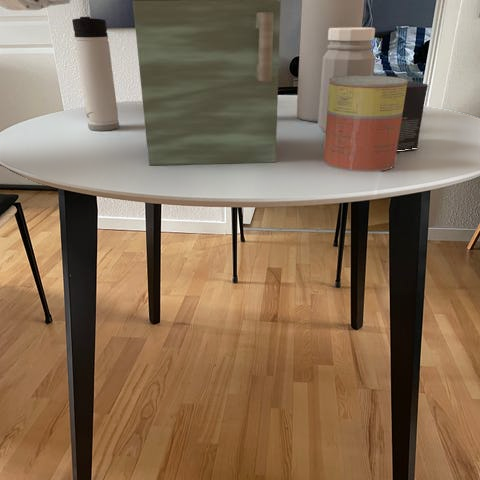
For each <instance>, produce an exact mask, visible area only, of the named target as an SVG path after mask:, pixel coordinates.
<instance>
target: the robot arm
mask: <svg viewBox="0 0 480 480" xmlns="http://www.w3.org/2000/svg"><path fill="white" fill-rule="evenodd" d="M70 3H71V0H0V7H1V8H4V9H5V10H10V11H40V10H42V9H46V8H48V7H52V6H58V5H67V4H70Z"/></svg>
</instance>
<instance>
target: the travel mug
mask: <svg viewBox="0 0 480 480" xmlns="http://www.w3.org/2000/svg"><path fill="white" fill-rule="evenodd" d="M71 23H72V28H73V32H74V41H75V50H76V55H77V56H76V57H77V60H78V69H79V74H80V82H81V88H82V94H83V100H84V107H85V113H86V121H87V126H88V129H89V130H90V131H94V130H95V132H106V131H107V132H108V131H113V130H115V131H116V130H117V129H119V128H120V121H119V113H118V105H117V98H116V89H115V82H114V73H113V66H112V58H111V50H110V49H111V48H110V41H109V36H108V28H107V27H108V26H107V20H106V19H102V18H91V16H79V18H73V19H72V21H71Z"/></svg>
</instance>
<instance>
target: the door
mask: <svg viewBox="0 0 480 480" xmlns="http://www.w3.org/2000/svg"><path fill="white" fill-rule="evenodd" d="M281 3H282V1H281V0H255V1H133V0H132V8H133V17H134V18H133V19H134V28H135V38H136V48H137V49H136V50H137V57H138V68H139V69H138V70H139V78H140V79H139V80H140V88H141V90H140V91H141V98H142V99H141V100H142V110H143V117H144V128H145V140H146V149H147V159H148V166H179V165H180V166H181V165H214V164H215V165H216V164H217V165H218V164H219V165H220V164H221V165H222V164H257V163H261V164H263V163H276V162H277V161H276V160H277V159H276V158H277V134H278V133H277V130H278V101H279V99H278V96H279V68H280V67H279V65H280V62H279V61H280V35H281V33H280V31H281V5H282V4H281Z"/></svg>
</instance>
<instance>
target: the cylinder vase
mask: <svg viewBox="0 0 480 480" xmlns="http://www.w3.org/2000/svg"><path fill="white" fill-rule="evenodd" d="M301 1H302V2H301V3H302V4H301V17H300V19H301V20H300V39H299V41H300V42H299V56H298V57H299V58H298V59H299V61H298V77H297V78H298V79H297V100H296V116H297V118H298V119H299V120H302V121H305V122H311V123H318V118H319V104H320V90H321V76H322V62H323V57H324V55H325V54H326V52H327V51H328V50H329V49H328V48H327V46H328V45H330V40H328V31H329V28H347V27H363V19H364V9H365V2H366V1H365V0H301Z"/></svg>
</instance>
